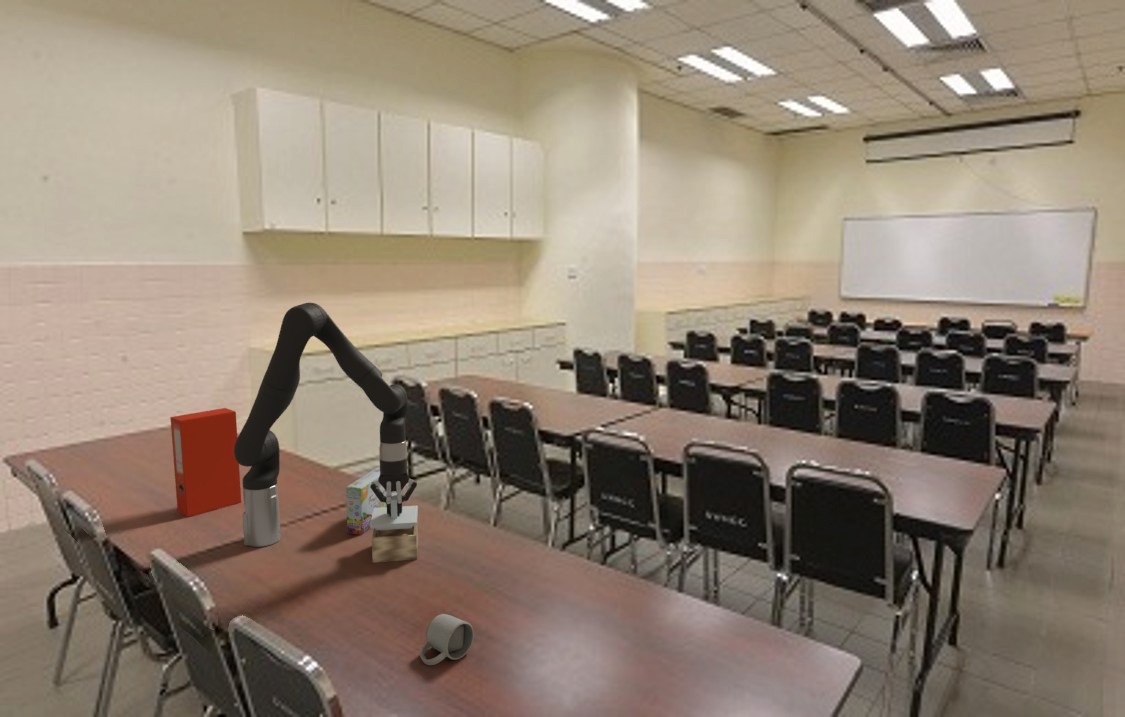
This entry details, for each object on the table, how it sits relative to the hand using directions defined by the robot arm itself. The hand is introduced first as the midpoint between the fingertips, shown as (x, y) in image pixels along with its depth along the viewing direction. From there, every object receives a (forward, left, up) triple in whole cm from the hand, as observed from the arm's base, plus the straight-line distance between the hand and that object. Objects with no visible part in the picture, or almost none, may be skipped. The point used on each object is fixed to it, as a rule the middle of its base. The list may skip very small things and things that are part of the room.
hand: (394, 514), depth 191 cm
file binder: (-63, +45, -11) cm, 78 cm away
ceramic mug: (+13, -53, -11) cm, 56 cm away
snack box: (-9, +24, -11) cm, 28 cm away
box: (0, 0, -11) cm, 11 cm away
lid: (0, 0, -2) cm, 2 cm away
